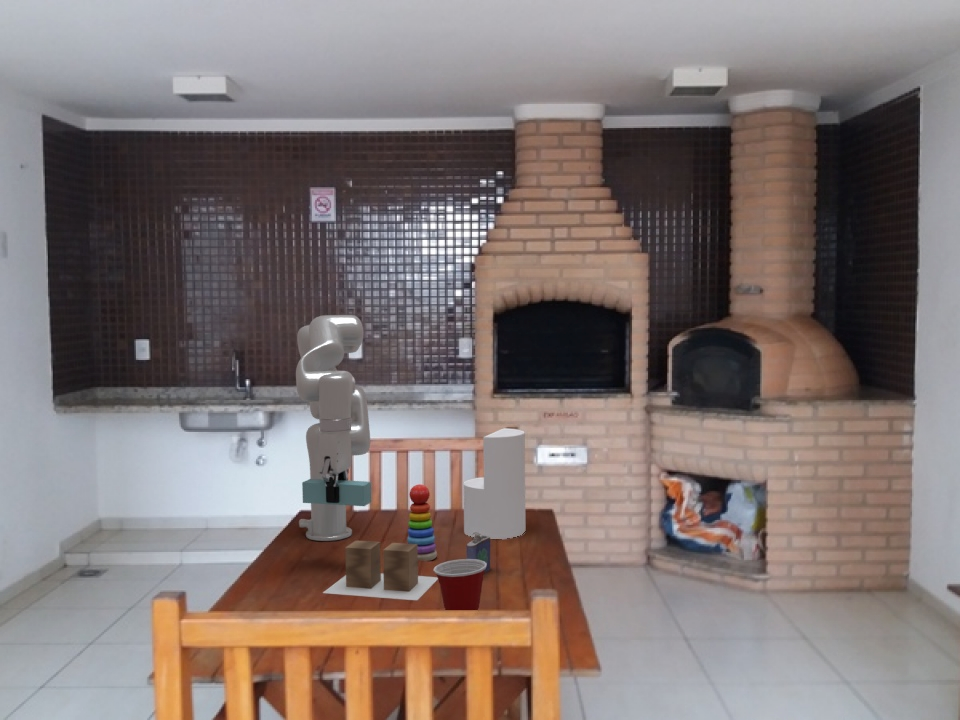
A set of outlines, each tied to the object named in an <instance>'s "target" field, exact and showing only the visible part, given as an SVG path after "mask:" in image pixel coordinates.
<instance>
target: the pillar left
mask: <svg viewBox="0 0 960 720" xmlns="http://www.w3.org/2000/svg"><path fill="white" fill-rule="evenodd" d="M344 549H345V575H346V587H355V588H368V589H371V588H373V587H374V586H375V585H376V584H377V583H378V582H380V581H381V572H382V571H381V566H382V565H381V541H370V540H356V539H355V540H354V541H353V542H351V543H349V544H348V545H346V546H345V548H344Z"/></svg>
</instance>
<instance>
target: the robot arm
mask: <svg viewBox="0 0 960 720" xmlns="http://www.w3.org/2000/svg"><path fill="white" fill-rule="evenodd" d="M296 336H297V337H296V339H297V340H296V341H297V348H298V353H299V355H300V356H299V357H300V359H299V361H298V363H297V366H296V368H295V379H296V380H295V383H296V392H297V395H298V397H299V398H300V400H301V401H303V402H307V403H309V411H310V415H311V416H312V417H313V418H314V419H315V420H318V421H319V422H318V423H314V424H312V425H310V426H309V427H308V429H307V430H306V434H305V441H306V447H307V454H308V461H309V462H308V463H309V475H310V476H309V479H324V481H325V486H326V502H327V503H339V486H337V484H338V480H346V481H349V472H350V471H349V470H350V468H351V467H352V462H353V460H352V457H354V456H361V455H363V456H364V455H365V454H367V453H369V450H370V448H371V432H370V423H369V422H370V421H369V420H370V419H369V409H368V407H369V406H368V399H367V396H366V395H367V394H366V392H365V390H364V389H363V388H362V387H361V386H358V385H356V379H355V377H354V376H353V375H352V373H351V372H350V371H346V370H338V368H337V366H339V364H340V363H342V361H343V359H344V357H345V354H352V353H356V352H357V351H358V350H359V349H360V347H361V345H362V344H363V343H362V342H363V340H364V325H363V323H362V321H361V319H360V318H359V317H358V316H356V315H354V314H335V315H334V314H328V315H327V314H324V315H320V316H316V317H315V318H313V319H312V321H310V323H309V324H307V325H305V326H302V327H300V328H299V329H298V331H297V335H296ZM310 515H311V516H310V517H311V518H310V519H306V518H301V519H299V521H298V525H299V526H298V527H299V528H306V529H307V531H306V532H305V536H306V538H307V539H309V540H311V541H317V542H318V541H319V542H330V541H333V542H334V541H339V540H344V539H347V538H349V537H351V536H352V535H353V530H352V528H350V527H348V526H347V505H332V504H314V503H310Z"/></svg>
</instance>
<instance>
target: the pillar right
mask: <svg viewBox="0 0 960 720" xmlns="http://www.w3.org/2000/svg"><path fill="white" fill-rule="evenodd" d="M382 556H383V557H382V561H383V563H382V567H383V568H382V569H383V570H382V571H383V572H382V573H383V574H384V590H394V591H407V592H410V591H411V590H412V589H413V588H414V587H415V586H416V585H417V584H418V576H419V563H418V561H419V560H418V549H417V544H408V543H402V542H391V543H390V544H388V546H386V547H385V548H383V549H382Z"/></svg>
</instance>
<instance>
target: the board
mask: <svg viewBox="0 0 960 720" xmlns="http://www.w3.org/2000/svg"><path fill="white" fill-rule="evenodd" d="M436 581H439V580H438V578H437V576H436V577H435V576H423V575H418V584H417V585H416V586H415V587H414V588H413V589H412V590H411V591H410V592H407V591H394V590H384V573H383V572H382V573H381V581H380V582H378V583H377V584H376V585H375V586H374V587H373V588H371V589H368V588H355V587H346V574H345V575H343V576H342V577H341V578H340V579H339V580H338V581H336V582H335V583H334V584H332V585H331V586H330V587H329V588H327V589H326V590H324V591H323V592H322V594H328V595H330V594H331V595H339V596H340V595H343V596H356V597H365V598H366V597H369V598H380V599H381V598H382V599H394V600H404V601H405V600H406V601H407V600H408V601H419V600H420V598H421V597H422V596H423V595H424V594H425V593H426V592H427V591H428V590H429V589H430V588H431V587H432V586H433V585H434V584H435V583H436Z"/></svg>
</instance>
